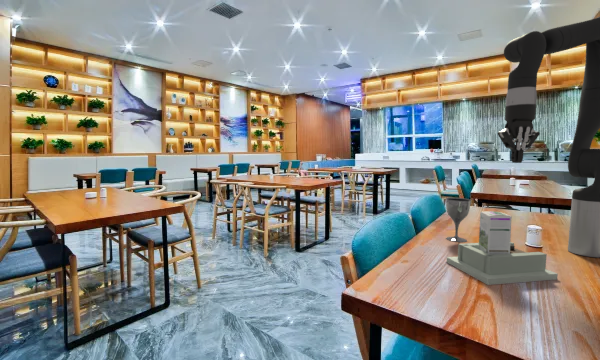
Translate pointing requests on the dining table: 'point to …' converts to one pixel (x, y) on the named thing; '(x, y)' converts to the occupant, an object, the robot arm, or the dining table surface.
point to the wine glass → (457, 214)
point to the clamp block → (515, 250)
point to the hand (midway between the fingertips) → (516, 162)
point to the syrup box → (495, 232)
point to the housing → (501, 265)
